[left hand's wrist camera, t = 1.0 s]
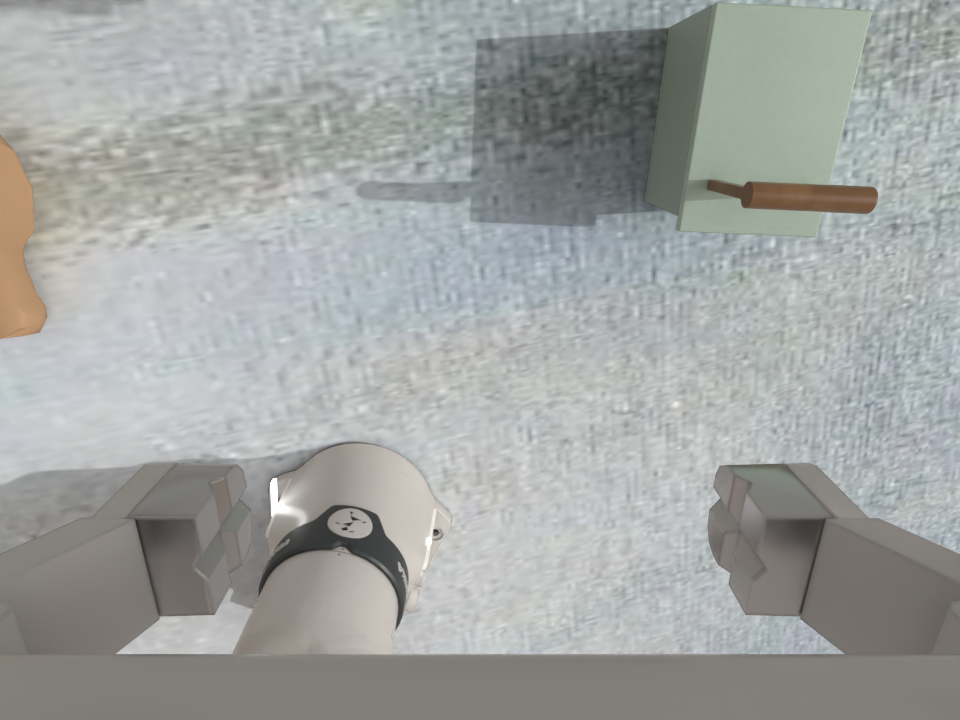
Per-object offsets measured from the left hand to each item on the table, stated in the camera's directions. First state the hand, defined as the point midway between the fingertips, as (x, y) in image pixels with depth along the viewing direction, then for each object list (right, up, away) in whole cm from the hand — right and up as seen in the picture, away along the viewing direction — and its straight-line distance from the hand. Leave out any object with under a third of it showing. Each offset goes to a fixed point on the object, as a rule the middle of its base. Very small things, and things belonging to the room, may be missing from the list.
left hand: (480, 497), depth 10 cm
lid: (+19, +18, +30) cm, 40 cm away
